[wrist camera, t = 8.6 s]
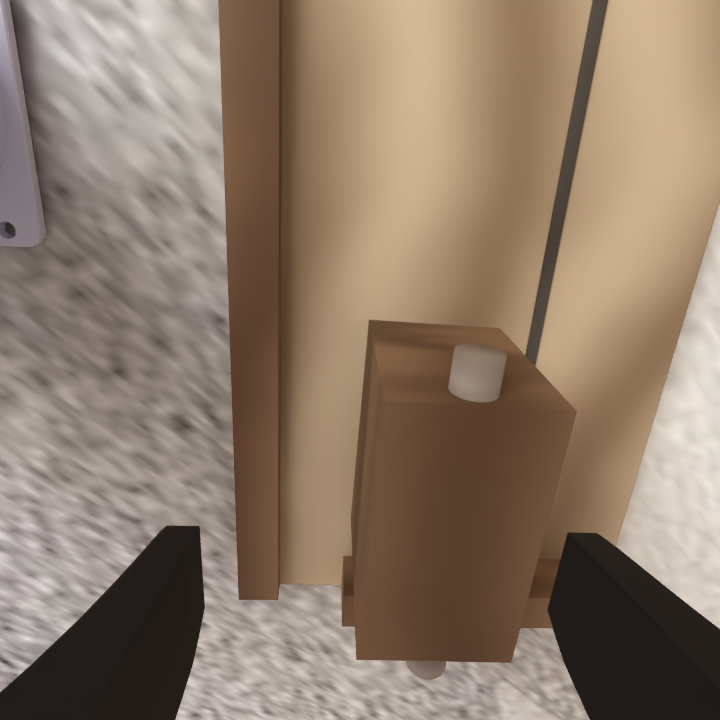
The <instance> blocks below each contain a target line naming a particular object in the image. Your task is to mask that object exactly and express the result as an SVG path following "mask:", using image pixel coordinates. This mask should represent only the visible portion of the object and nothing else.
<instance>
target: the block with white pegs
mask: <svg viewBox="0 0 720 720" xmlns="http://www.w3.org/2000/svg"><path fill="white" fill-rule="evenodd" d="M576 414H577V411H576V410H575V409H574V408H573V406H572V405H571V404H570V403H569V402H568V401H567V400H566V399H565V398H564V397H563V396H562V395H561V394H560V392H559V391H558V390H557V389H556V388H555V387H554V386H553V385H552V384H551V383H550V382H549V381H548V380H547V378H546V377H545V376H544V375H543V374H542V373H541V372H540V371H539V370H538V369H537V368H536V367H535V366H534V364H533V363H532V362H531V361H530V360H529V359H528V358H527V357H526V356H525V355H524V354H523V353H522V351H521V350H520V349H519V348H518V347H517V346H516V345H515V344H514V343H513V342H512V341H511V340H510V339H509V337H508V336H507V335H506V334H505V333H504V332H503V331H502V330H501V329H500V328H488V327H473V326H458V325H442V324H427V323H412V322H396V321H381V320H369V324H368V335H367V346H366V357H365V368H364V379H363V390H362V401H361V412H360V422H359V433H358V444H357V455H356V466H355V477H354V488H353V499H352V510H351V538H352V562H353V587H354V611H355V635H356V660H402V661H406V663H407V666H408V668H409V669H410V670H411V672H412V673H413V674H415V675H416V676H418V677H420V678H423V679H435V678H437V677H439V676H441V675H442V673H443V672H444V670H445V666H446V661H455V662H507V663H511V661H512V657H513V653H514V649H515V646H516V642H517V638H518V634H519V630H520V627H521V623H522V619H523V615H524V611H525V608H526V604H527V600H528V596H529V592H530V589H531V585H532V581H533V577H534V573H535V570H536V566H537V562H538V558H539V554H540V551H541V547H542V543H543V539H544V535H545V531H546V528H547V524H548V520H549V516H550V512H551V509H552V505H553V501H554V497H555V493H556V490H557V486H558V482H559V478H560V474H561V471H562V467H563V463H564V459H565V455H566V452H567V448H568V444H569V440H570V436H571V433H572V429H573V425H574V421H575V417H576Z"/></svg>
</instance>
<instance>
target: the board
mask: <svg viewBox="0 0 720 720" xmlns="http://www.w3.org/2000/svg"><path fill="white" fill-rule="evenodd" d="M219 28H220V58H221V87H222V117H223V146H224V176H225V205H226V235H227V264H228V294H229V323H230V353H231V382H232V412H233V441H234V471H235V500H236V530H237V559H238V589H239V600H278V594H279V586H280V584H306V585H342V626H353V627H355V611H354V587H353V562H352V538H351V510H352V499H353V488H354V477H355V466H356V455H357V444H358V433H359V422H360V412H361V401H362V390H363V379H364V368H365V357H366V346H367V335H368V324H369V320H381V321H396V322H412V323H427V324H442V325H458V326H473V327H488V328H500V329H501V330H502V331H503V332H504V333H505V334H506V335H507V336H508V337H509V339H510V340H511V341H512V342H513V343H514V344H515V345H516V346H517V347H518V348H519V349H520V350H521V351H522V353H523V354H524V355H525V356H526V357H527V358H528V359H529V360H530V361H531V362H532V363H533V364H534V366H535V367H536V368H537V369H538V370H539V371H540V372H541V373H542V374H543V375H544V376H545V377H546V378H547V380H548V381H549V382H550V383H551V384H552V385H553V386H554V387H555V388H556V389H557V390H558V391H559V392H560V394H561V395H562V396H563V397H564V398H565V399H566V400H567V401H568V402H569V403H570V404H571V405H572V406H573V408H574V409H575V410H576V411H577V414H576V417H575V421H574V425H573V429H572V433H571V436H570V440H569V444H568V448H567V452H566V455H565V459H564V463H563V467H562V471H561V474H560V478H559V482H558V486H557V490H556V493H555V497H554V501H553V505H552V509H551V512H550V516H549V520H548V524H547V528H546V531H545V535H544V539H543V543H542V547H541V551H540V554H539V558H538V562H537V566H536V570H535V573H534V577H533V581H532V585H531V589H530V592H529V596H528V600H527V604H526V608H525V611H524V615H523V619H522V623H521V627H520V628H553V627H552V623H551V620H550V617H549V614H548V610H547V609H548V605H549V601H550V598H551V594H552V590H553V586H554V582H555V578H556V575H557V571H558V567H559V563H560V559H561V556H562V552H563V548H564V544H565V540H566V537H567V533H568V532H571V533H598V534H599V535H601V536H602V537H603V538H605V539H606V540H608V541H609V542H610V543H611V544H613V545H614V546H616V543H617V540H618V536H619V533H620V530H621V527H622V523H623V520H624V517H625V513H626V510H627V507H628V503H629V500H630V497H631V493H632V490H633V487H634V484H635V480H636V477H637V474H638V470H639V467H640V464H641V460H642V457H643V454H644V450H645V447H646V444H647V440H648V437H649V434H650V431H651V427H652V424H653V421H654V417H655V414H656V411H657V407H658V404H659V401H660V397H661V394H662V391H663V387H664V384H665V381H666V378H667V374H668V371H669V368H670V364H671V361H672V358H673V354H674V351H675V348H676V344H677V341H678V338H679V334H680V331H681V328H682V325H683V321H684V318H685V315H686V311H687V308H688V305H689V301H690V298H691V295H692V291H693V288H694V285H695V281H696V278H697V275H698V272H699V268H700V265H701V262H702V258H703V255H704V252H705V248H706V245H707V242H708V238H709V235H710V232H711V229H712V225H713V222H714V219H715V215H716V212H717V209H718V205H719V202H720V0H219Z"/></svg>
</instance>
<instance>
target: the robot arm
mask: <svg viewBox="0 0 720 720" xmlns="http://www.w3.org/2000/svg"><path fill="white" fill-rule="evenodd" d="M7 222H8V223H11V224H12V225H13V226H14V228H15V230H16V234H15V236H14V237H13V236H11V235H9V234H8V233H7V231H6V229H5V226H6V223H7ZM45 237H46V228H45V221H44V215H43V209H42V202H41V196H40V190H39V184H38V177H37V171H36V165H35V158H34V152H33V146H32V139H31V133H30V127H29V121H28V114H27V108H26V102H25V95H24V89H23V83H22V77H21V70H20V64H19V58H18V51H17V45H16V39H15V33H14V26H13V20H12V14H11V7H10V1H9V0H0V246H12V247H32V246H36V245H39V244H40V243H42V242H43V241H44V239H45ZM204 608H205V605H204V590H203V574H202V558H201V543H200V527H199V526H166V527H165V528H163V529H162V530H161V531H160V532H159V533H158V535H157V536H156V537H155V538H154V539H153V540H152V541H151V542H150V544H149V545H148V546H147V547H146V548H145V549H144V550H143V552H142V553H141V554H140V555H139V556H138V557H137V558H136V559H135V560H134V562H133V563H132V564H131V565H130V566H129V567H128V568H127V569H126V570H125V571H124V573H123V574H122V575H121V576H120V577H119V578H118V579H117V580H116V581H115V582H114V583H113V584H112V585H111V586H110V588H109V589H108V590H107V591H106V592H105V593H104V594H103V595H102V596H101V597H100V598H99V599H98V600H97V601H96V602H95V603H94V604H93V605H92V606H91V607H90V608H89V609H88V610H87V611H86V613H85V614H84V615H83V616H82V617H81V618H80V619H79V620H78V621H77V622H76V623H75V624H74V625H72V626H71V627H70V628H69V629H68V630H67V631H66V632H65V633H64V634H63V635H62V636H61V637H60V638H59V639H58V640H57V641H56V642H55V643H54V644H53V645H52V646H51V647H49V648H48V649H47V650H46V651H45V652H44V653H43V654H42V655H41V656H40V657H39V658H38V659H37V660H36V661H35V662H34V663H33V664H32V665H30V666H29V667H28V668H27V669H26V670H25V671H24V672H23V673H22V674H20V675H19V676H18V677H17V678H16V679H15V680H14V681H13V682H12V683H10V684H9V685H8V686H7V687H6V688H5V689H3V690H2V691H1V692H0V720H175V718H176V715H177V712H178V709H179V706H180V703H181V700H182V697H183V694H184V690H185V687H186V684H187V681H188V678H189V675H190V671H191V668H192V665H193V661H194V656H195V652H196V647H197V643H198V638H199V633H200V628H201V623H202V618H203V613H204ZM547 610H548V614H549V617H550V620H551V623H552V627H553V630H554V633H555V636H556V640H557V642H558V645H559V648H560V651H561V654H562V657H563V660H564V663H565V665H566V668H567V670H568V672H569V674H570V677H571V679H572V681H573V683H574V686H575V688H576V690H577V692H578V694H579V697H580V699H581V701H582V703H583V705H584V708H585V710H586V712H587V714H588V716H589V719H590V720H720V629H719V628H718V627H716V626H715V625H714V624H712V623H711V622H710V621H708V620H707V619H706V618H705V617H703V616H702V615H701V614H699V613H698V612H697V611H695V610H694V609H693V608H692V607H690V606H689V605H688V604H687V603H685V602H684V601H683V600H682V599H680V598H679V597H678V596H676V595H675V594H674V593H673V592H671V591H670V590H669V589H668V588H666V587H665V586H664V585H663V584H661V583H660V582H659V581H658V580H657V579H655V578H654V577H653V576H652V575H650V574H649V573H648V572H647V571H645V570H644V569H643V568H642V567H640V566H639V565H638V564H637V563H635V562H634V561H633V560H632V559H630V558H629V557H628V556H627V555H625V554H624V553H623V552H622V551H620V550H619V549H618V548H617V547H615V546H614V545H613V544H611V543H610V542H609V541H608V540H606V539H605V538H603V537H602V536H601V535H599V534H598V533H571V532H568V533H567V537H566V540H565V544H564V548H563V552H562V556H561V559H560V563H559V567H558V571H557V575H556V578H555V582H554V586H553V590H552V594H551V598H550V601H549V605H548V609H547Z"/></svg>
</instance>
